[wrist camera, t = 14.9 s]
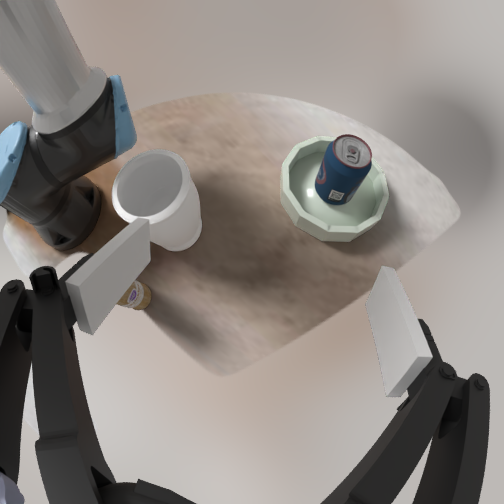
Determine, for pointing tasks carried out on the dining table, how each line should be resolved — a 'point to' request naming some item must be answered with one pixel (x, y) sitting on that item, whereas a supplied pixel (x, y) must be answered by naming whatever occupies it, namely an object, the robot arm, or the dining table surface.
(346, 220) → the bowl
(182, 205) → the jar
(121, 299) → the sprinkles bottle
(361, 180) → the soda can
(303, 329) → the dining table surface
